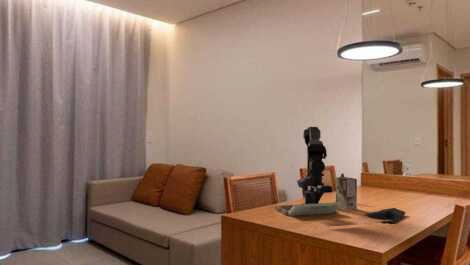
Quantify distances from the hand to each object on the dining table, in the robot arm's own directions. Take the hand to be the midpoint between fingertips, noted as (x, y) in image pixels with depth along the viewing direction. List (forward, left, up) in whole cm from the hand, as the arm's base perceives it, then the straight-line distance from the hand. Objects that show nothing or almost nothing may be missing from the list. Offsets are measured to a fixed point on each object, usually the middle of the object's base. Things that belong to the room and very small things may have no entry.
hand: (315, 206), depth 156 cm
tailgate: (-4, 0, -4) cm, 6 cm away
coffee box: (-12, +24, -6) cm, 27 cm away
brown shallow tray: (-10, 0, -6) cm, 11 cm away
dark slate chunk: (+7, +32, -6) cm, 33 cm away
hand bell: (-30, +34, -6) cm, 45 cm away
